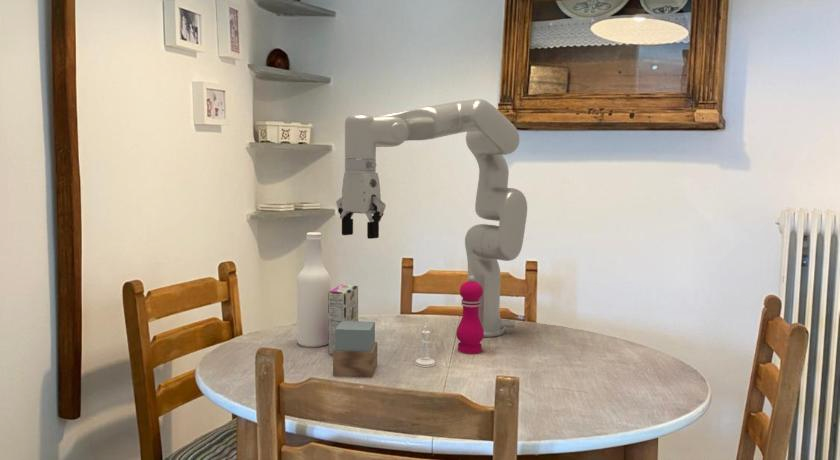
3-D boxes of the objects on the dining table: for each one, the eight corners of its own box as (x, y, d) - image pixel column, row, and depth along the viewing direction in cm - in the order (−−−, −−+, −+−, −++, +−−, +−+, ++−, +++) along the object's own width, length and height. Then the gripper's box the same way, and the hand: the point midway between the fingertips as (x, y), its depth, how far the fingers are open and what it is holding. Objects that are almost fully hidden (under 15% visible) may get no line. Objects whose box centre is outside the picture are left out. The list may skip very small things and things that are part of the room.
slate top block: (374, 342, 154) (374, 321, 154) (369, 351, 146) (370, 330, 146) (341, 341, 155) (341, 320, 154) (335, 350, 147) (335, 329, 146)
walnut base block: (377, 366, 155) (377, 341, 155) (372, 378, 147) (372, 352, 146) (340, 364, 156) (340, 340, 155) (333, 376, 147) (333, 351, 147)
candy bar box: (341, 343, 175) (341, 283, 173) (358, 344, 174) (359, 284, 172) (327, 354, 164) (327, 291, 162) (345, 356, 163) (346, 292, 161)
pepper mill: (487, 349, 171) (489, 274, 169) (478, 356, 165) (480, 278, 163) (461, 345, 174) (463, 272, 172) (451, 352, 168) (453, 276, 166)
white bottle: (309, 337, 180) (309, 230, 177) (336, 341, 176) (336, 232, 173) (290, 345, 172) (290, 233, 169) (318, 349, 168) (318, 235, 165)
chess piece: (437, 362, 159) (438, 322, 158) (431, 368, 154) (432, 327, 153) (419, 360, 160) (419, 320, 159) (412, 365, 156) (413, 325, 155)
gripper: (395, 167, 154) (395, 238, 155) (349, 166, 166) (349, 232, 168) (372, 167, 148) (371, 240, 150) (326, 166, 161) (326, 234, 162)
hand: (359, 236), depth 159 cm, fingers open, 9 cm apart
